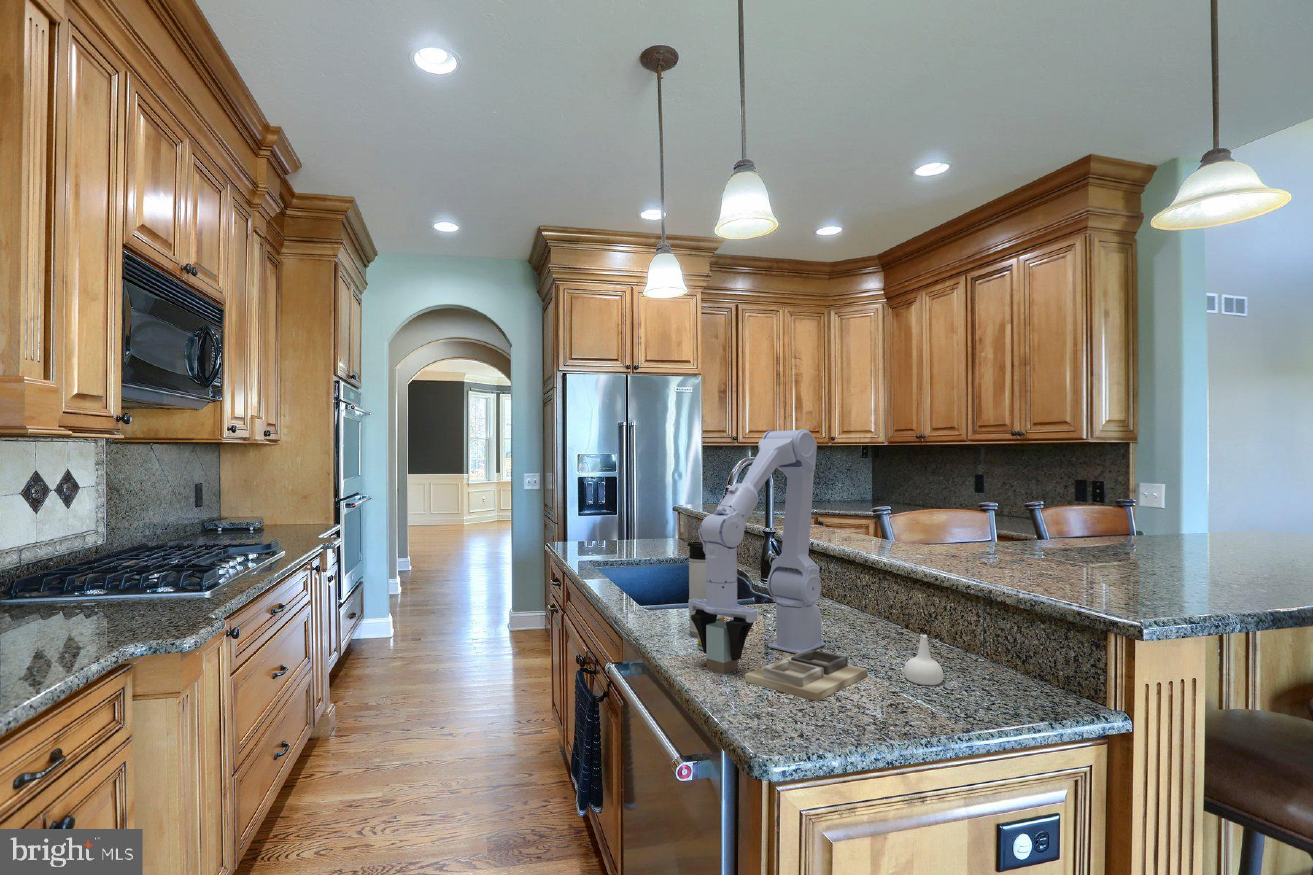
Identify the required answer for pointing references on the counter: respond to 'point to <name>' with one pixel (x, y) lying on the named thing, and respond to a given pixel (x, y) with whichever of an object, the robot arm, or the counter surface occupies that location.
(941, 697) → the counter surface
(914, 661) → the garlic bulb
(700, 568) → the travel mug
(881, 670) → the counter surface
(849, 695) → the counter surface
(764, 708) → the counter surface
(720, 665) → the banded peg
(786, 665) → the board
